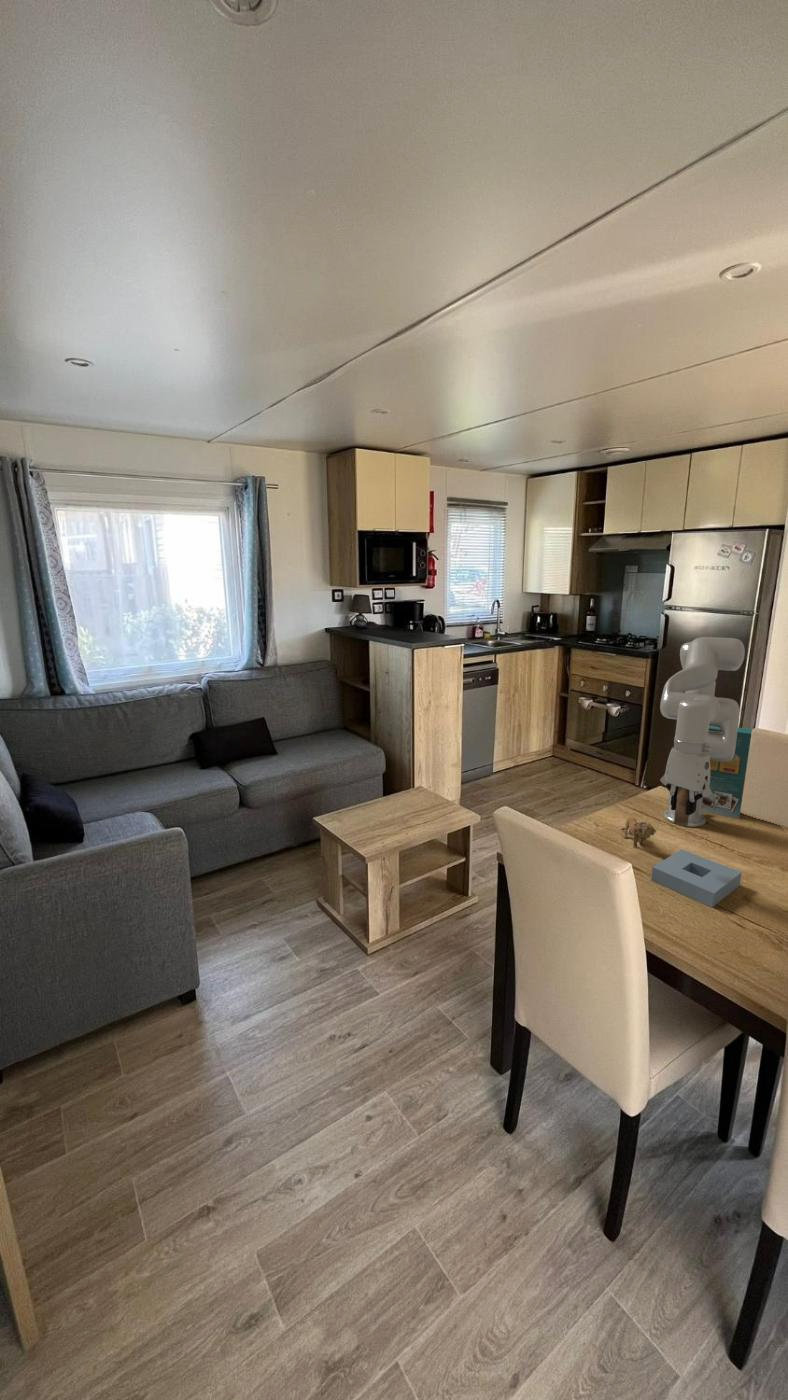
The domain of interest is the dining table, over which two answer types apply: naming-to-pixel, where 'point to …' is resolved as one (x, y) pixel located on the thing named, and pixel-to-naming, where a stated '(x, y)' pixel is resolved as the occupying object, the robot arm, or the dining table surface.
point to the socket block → (696, 877)
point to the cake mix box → (728, 778)
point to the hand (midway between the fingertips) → (682, 810)
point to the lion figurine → (638, 830)
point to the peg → (681, 807)
